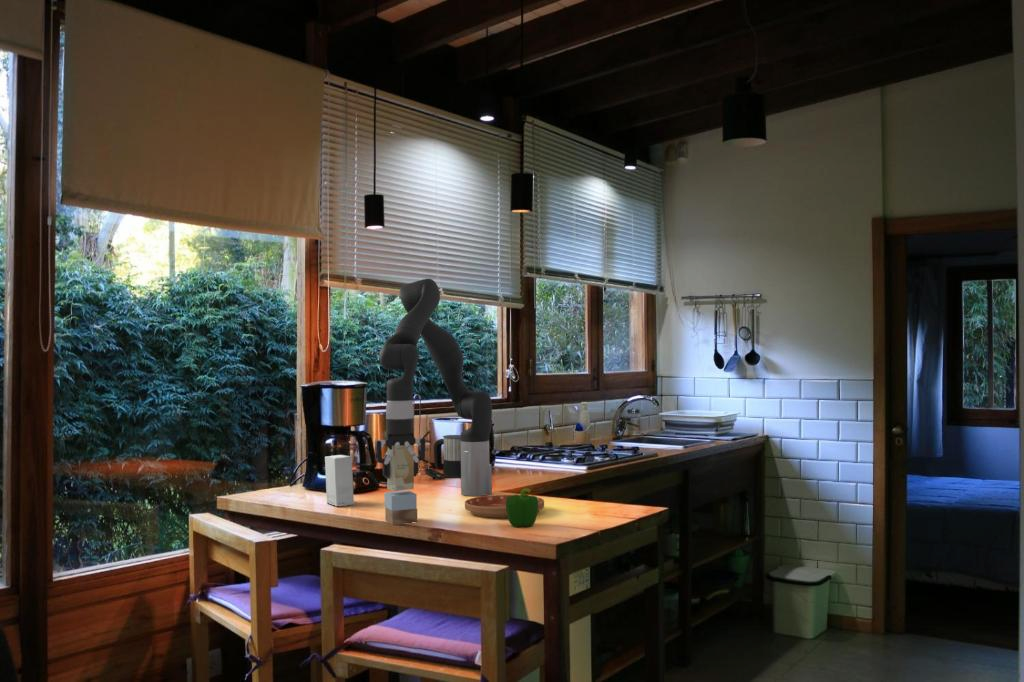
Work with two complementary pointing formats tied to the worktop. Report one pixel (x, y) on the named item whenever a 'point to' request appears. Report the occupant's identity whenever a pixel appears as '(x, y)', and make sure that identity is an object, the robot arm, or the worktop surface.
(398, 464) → the skincare box
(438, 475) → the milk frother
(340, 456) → the skincare box
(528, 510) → the bell pepper
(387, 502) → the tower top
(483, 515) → the saucer
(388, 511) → the tower base
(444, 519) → the worktop surface
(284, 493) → the worktop surface
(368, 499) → the worktop surface
